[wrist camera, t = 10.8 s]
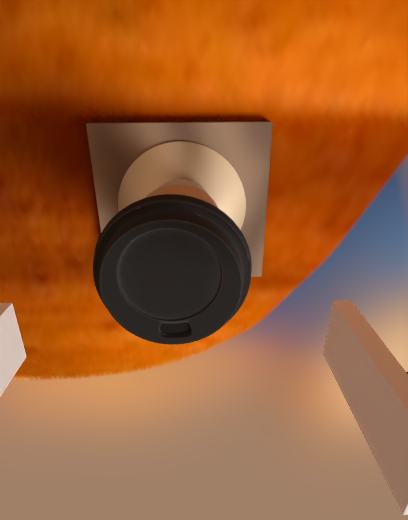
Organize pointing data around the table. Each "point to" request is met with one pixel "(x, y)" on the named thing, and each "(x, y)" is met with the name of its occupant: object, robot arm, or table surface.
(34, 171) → the table surface
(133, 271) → the coffee cup
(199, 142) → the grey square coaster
